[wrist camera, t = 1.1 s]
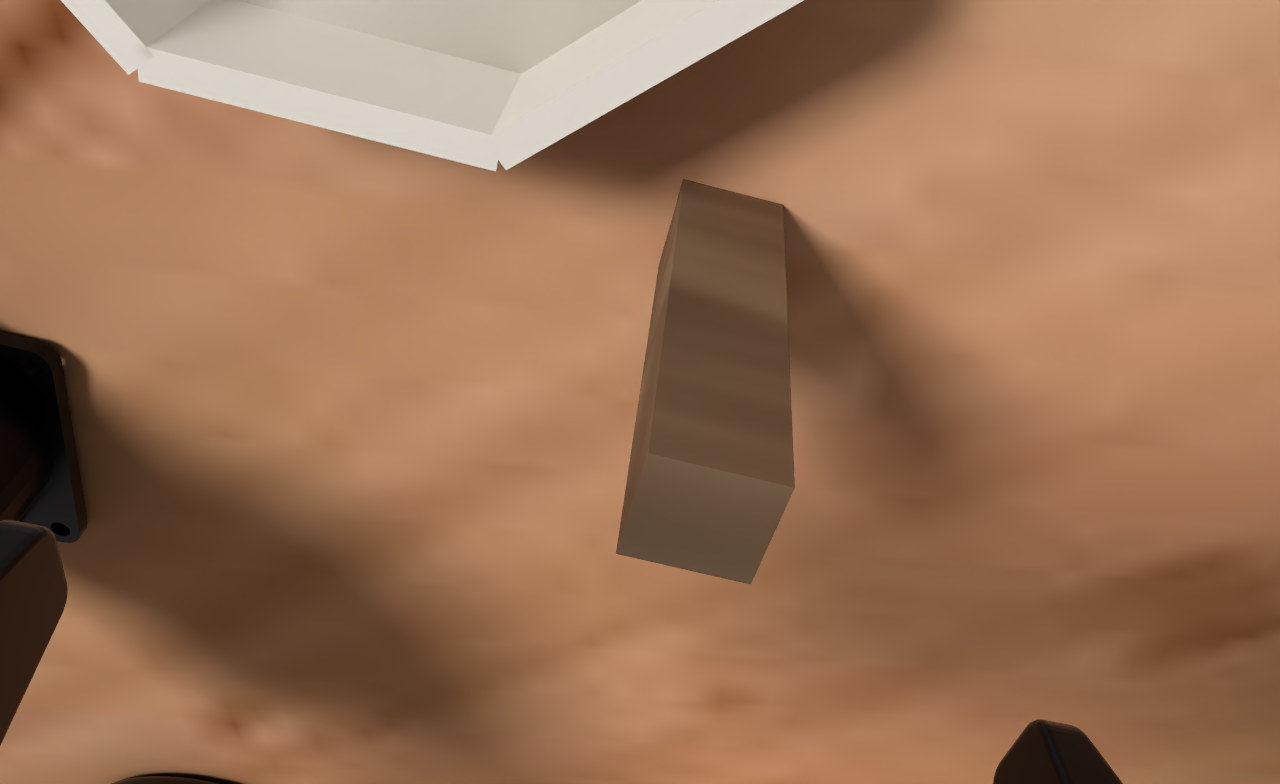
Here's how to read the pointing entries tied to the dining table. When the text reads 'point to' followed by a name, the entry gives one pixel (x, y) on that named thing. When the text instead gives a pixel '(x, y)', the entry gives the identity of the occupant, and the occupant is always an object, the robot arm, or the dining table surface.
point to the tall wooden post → (713, 392)
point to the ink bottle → (162, 780)
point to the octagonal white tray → (422, 61)
